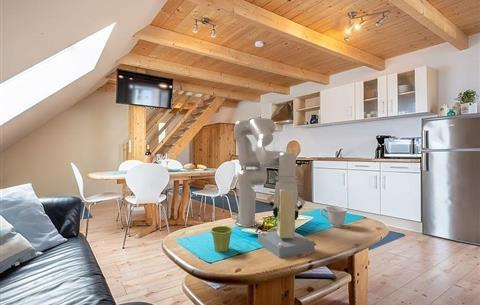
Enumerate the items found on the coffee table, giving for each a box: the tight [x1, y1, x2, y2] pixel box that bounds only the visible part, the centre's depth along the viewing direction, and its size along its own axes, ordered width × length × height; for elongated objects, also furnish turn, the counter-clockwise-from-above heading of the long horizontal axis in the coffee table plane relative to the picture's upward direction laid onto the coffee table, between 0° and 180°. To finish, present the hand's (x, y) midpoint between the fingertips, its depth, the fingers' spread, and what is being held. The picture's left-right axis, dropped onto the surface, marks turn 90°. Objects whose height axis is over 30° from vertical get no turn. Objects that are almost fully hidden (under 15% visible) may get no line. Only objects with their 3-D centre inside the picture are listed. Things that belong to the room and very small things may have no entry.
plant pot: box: [210, 225, 234, 252], centre depth 111 cm, size 9×9×9 cm
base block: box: [257, 230, 315, 259], centre depth 116 cm, size 18×18×5 cm
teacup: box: [319, 205, 349, 228], centre depth 149 cm, size 12×15×10 cm
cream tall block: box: [276, 190, 296, 238], centre depth 116 cm, size 8×7×21 cm
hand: (285, 217), depth 116 cm, fingers closed on cream tall block, 8 cm apart
